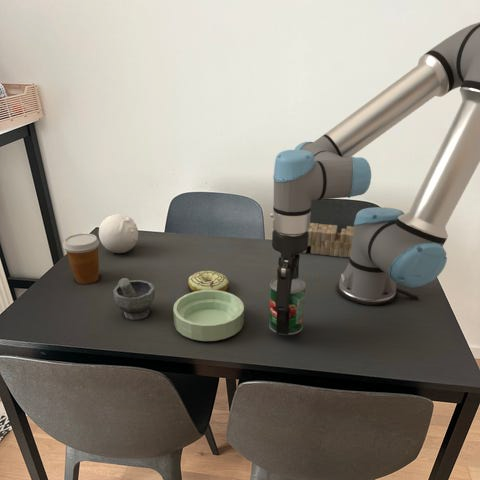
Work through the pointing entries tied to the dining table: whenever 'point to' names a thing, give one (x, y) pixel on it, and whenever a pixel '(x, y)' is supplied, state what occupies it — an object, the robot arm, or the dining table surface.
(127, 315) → the mortar and pestle
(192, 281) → the decorated donut
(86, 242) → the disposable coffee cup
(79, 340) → the dining table surface
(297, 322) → the canned tomato
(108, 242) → the decorative ball
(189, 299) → the bowl
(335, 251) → the block tower
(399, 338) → the dining table surface
